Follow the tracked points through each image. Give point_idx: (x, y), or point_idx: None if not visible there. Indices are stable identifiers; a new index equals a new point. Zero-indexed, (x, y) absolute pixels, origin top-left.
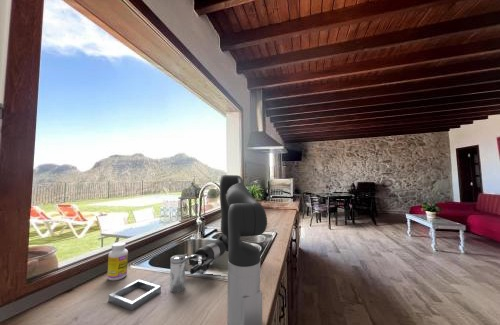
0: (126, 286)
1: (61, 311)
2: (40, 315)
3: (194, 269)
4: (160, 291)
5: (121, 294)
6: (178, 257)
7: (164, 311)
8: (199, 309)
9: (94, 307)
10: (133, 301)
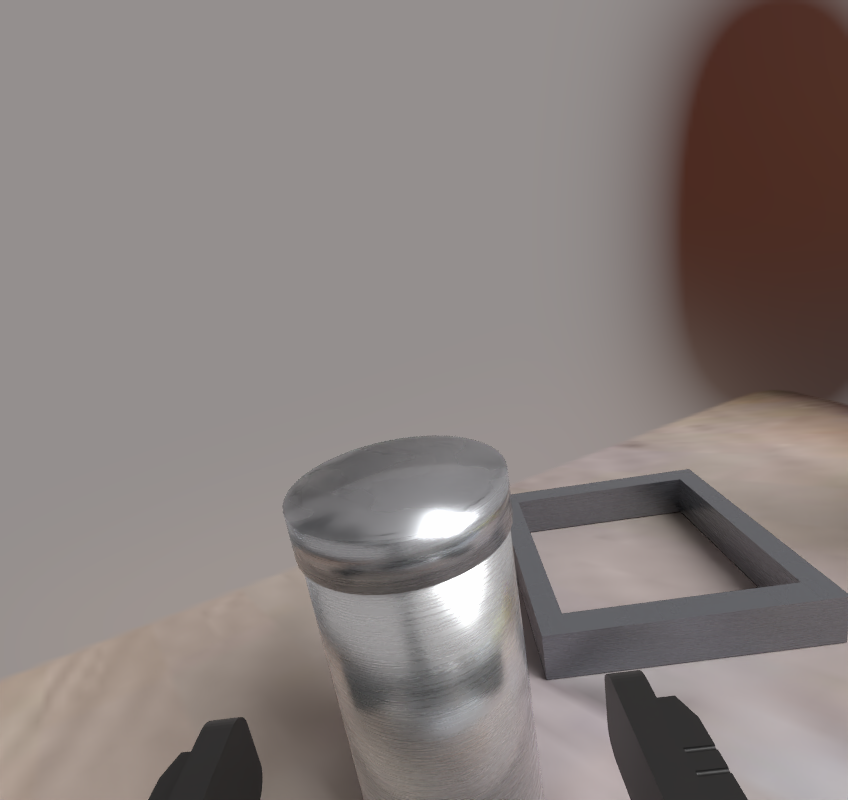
0: (746, 522)
1: (727, 430)
2: (742, 410)
3: (174, 767)
4: (546, 675)
5: (706, 527)
6: (392, 480)
7: None
8: (113, 700)
9: None
10: (512, 503)
